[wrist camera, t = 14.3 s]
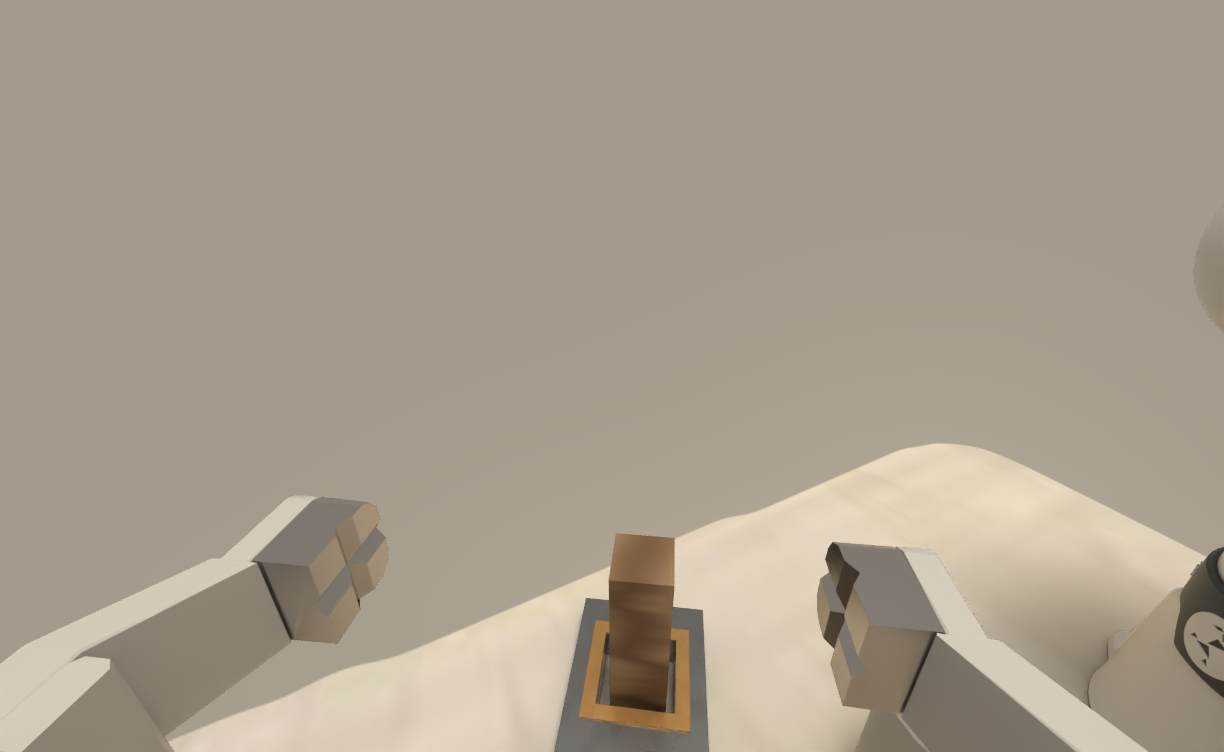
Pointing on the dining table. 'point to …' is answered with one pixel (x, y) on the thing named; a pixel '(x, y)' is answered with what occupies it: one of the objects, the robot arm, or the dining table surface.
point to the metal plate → (625, 737)
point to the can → (888, 735)
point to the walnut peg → (640, 620)
